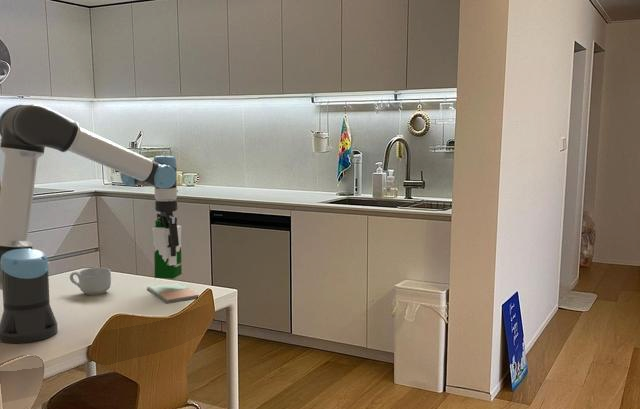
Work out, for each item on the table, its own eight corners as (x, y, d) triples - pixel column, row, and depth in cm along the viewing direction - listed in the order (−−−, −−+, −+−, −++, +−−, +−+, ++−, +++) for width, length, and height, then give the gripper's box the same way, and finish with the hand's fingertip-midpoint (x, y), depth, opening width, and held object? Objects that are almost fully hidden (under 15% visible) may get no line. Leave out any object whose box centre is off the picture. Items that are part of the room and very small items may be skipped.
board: (166, 303, 201) (166, 299, 200) (147, 289, 217) (147, 286, 217) (200, 297, 207) (200, 294, 207) (179, 285, 224) (179, 282, 224)
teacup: (117, 290, 216) (116, 268, 215) (101, 298, 206) (100, 275, 205) (81, 288, 219) (80, 266, 218) (64, 296, 208) (63, 273, 207)
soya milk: (162, 272, 221) (160, 218, 218) (185, 273, 219) (184, 219, 216) (150, 278, 212) (149, 222, 210) (174, 279, 210) (173, 223, 208)
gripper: (187, 202, 205) (189, 267, 208) (165, 196, 223) (167, 255, 226) (166, 203, 201) (168, 269, 204) (145, 197, 219) (147, 257, 222)
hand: (167, 262), depth 215 cm, fingers closed on soya milk, 9 cm apart
